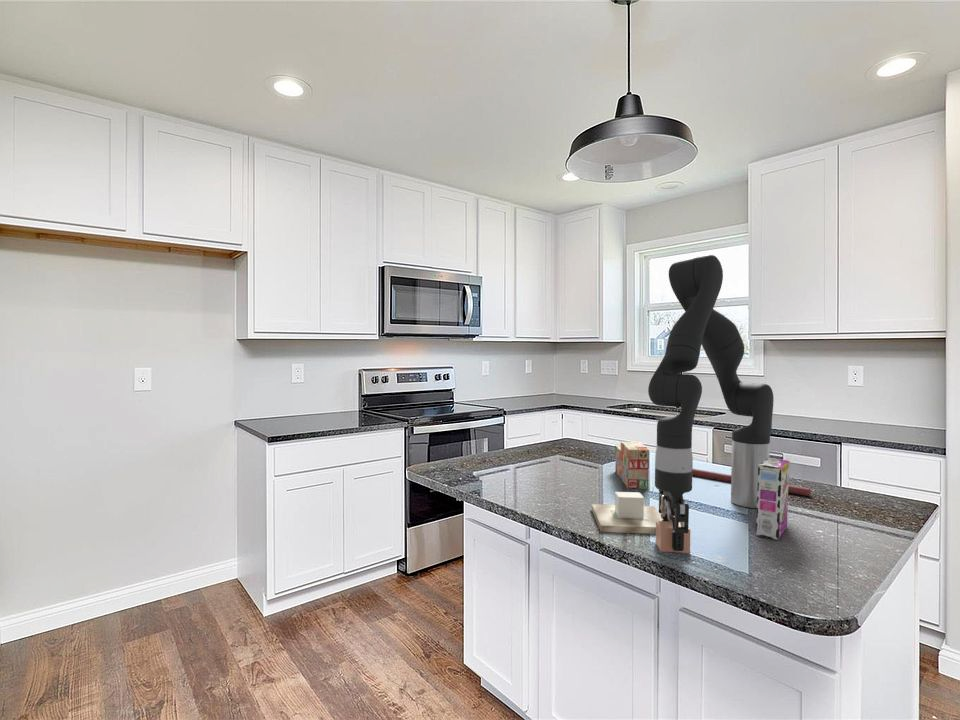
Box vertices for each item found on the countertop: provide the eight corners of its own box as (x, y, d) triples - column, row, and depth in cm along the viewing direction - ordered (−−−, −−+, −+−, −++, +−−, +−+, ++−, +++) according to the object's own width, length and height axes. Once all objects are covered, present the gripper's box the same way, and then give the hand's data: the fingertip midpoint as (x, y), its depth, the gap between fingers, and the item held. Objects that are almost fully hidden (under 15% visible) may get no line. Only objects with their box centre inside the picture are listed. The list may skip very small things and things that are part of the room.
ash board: (654, 511, 134) (654, 505, 134) (671, 534, 118) (671, 527, 118) (591, 509, 136) (592, 503, 136) (600, 531, 120) (600, 524, 120)
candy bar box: (780, 541, 114) (781, 468, 114) (755, 536, 117) (756, 464, 117) (788, 527, 123) (790, 459, 122) (765, 523, 126) (766, 456, 126)
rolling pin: (811, 496, 150) (811, 486, 150) (808, 499, 147) (809, 488, 147) (662, 470, 181) (662, 461, 181) (658, 471, 179) (658, 462, 179)
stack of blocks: (614, 471, 177) (615, 436, 177) (633, 472, 177) (633, 436, 177) (627, 489, 156) (628, 448, 156) (648, 489, 156) (649, 449, 155)
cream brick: (639, 512, 129) (639, 492, 129) (643, 518, 124) (643, 497, 124) (614, 511, 129) (615, 491, 129) (618, 517, 125) (618, 497, 125)
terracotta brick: (684, 544, 112) (684, 522, 112) (690, 553, 108) (690, 529, 108) (655, 543, 113) (655, 521, 113) (660, 551, 109) (660, 528, 108)
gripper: (703, 476, 103) (701, 557, 103) (681, 460, 117) (680, 531, 117) (664, 474, 103) (663, 556, 104) (647, 459, 117) (646, 530, 118)
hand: (672, 543), depth 110 cm, fingers open, 7 cm apart
